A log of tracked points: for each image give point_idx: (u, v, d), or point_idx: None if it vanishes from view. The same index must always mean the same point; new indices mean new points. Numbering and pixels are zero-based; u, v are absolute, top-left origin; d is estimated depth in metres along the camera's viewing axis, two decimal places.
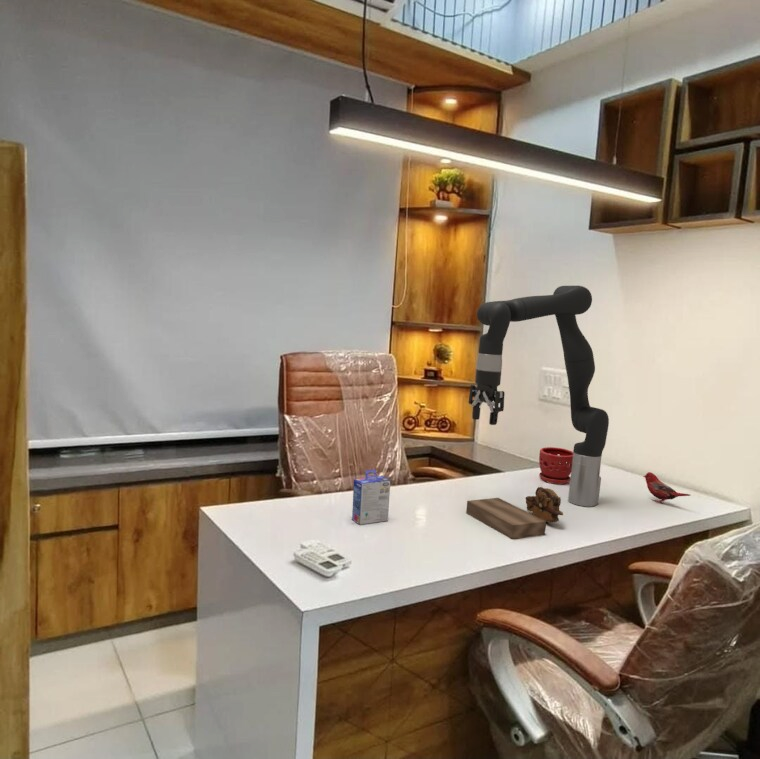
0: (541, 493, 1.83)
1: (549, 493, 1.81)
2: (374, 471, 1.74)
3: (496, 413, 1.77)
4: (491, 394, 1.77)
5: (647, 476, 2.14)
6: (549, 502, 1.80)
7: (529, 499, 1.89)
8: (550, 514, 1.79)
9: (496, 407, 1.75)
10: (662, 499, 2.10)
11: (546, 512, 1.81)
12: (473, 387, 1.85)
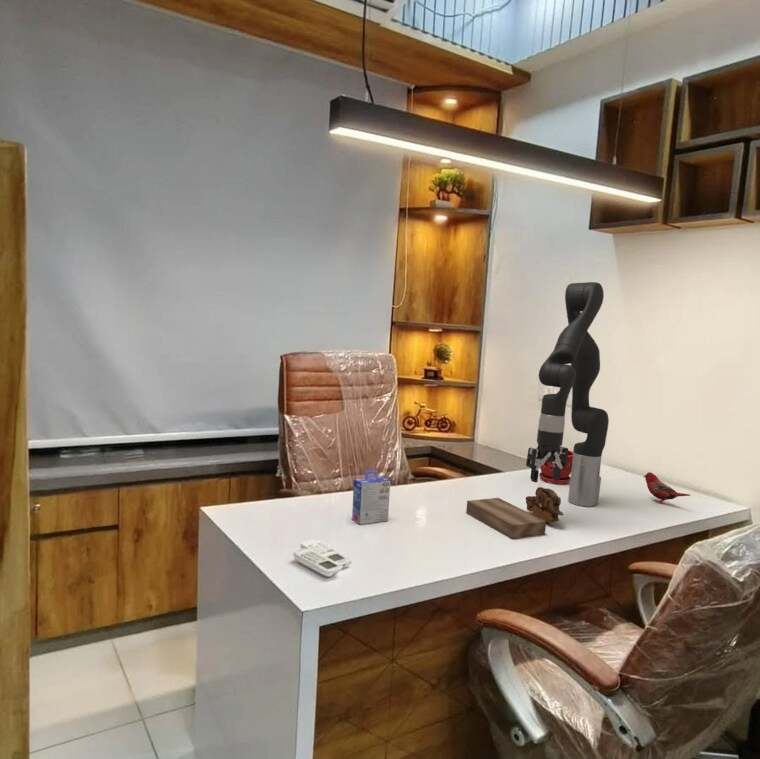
0: (541, 493, 1.83)
1: (549, 493, 1.81)
2: (374, 471, 1.74)
3: None
4: (559, 452, 1.83)
5: (647, 476, 2.14)
6: (549, 502, 1.80)
7: (529, 499, 1.89)
8: (550, 514, 1.79)
9: (566, 463, 1.85)
10: (662, 499, 2.10)
11: (546, 512, 1.81)
12: None
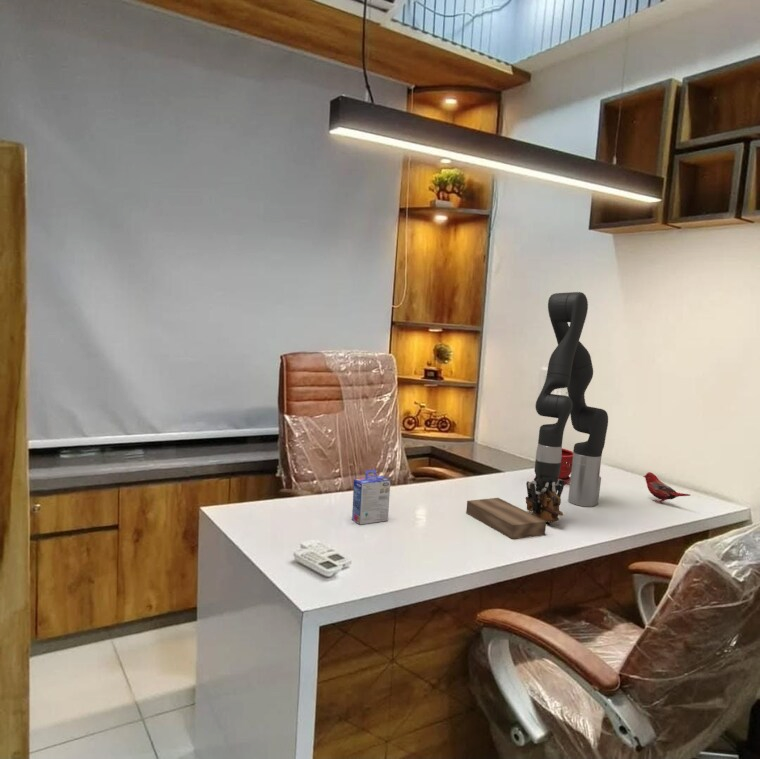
0: None
1: (549, 493, 1.81)
2: (374, 471, 1.74)
3: None
4: (556, 482, 1.84)
5: (647, 476, 2.14)
6: (549, 502, 1.80)
7: (529, 499, 1.89)
8: (550, 514, 1.79)
9: (559, 495, 1.85)
10: (662, 499, 2.10)
11: (546, 512, 1.81)
12: None
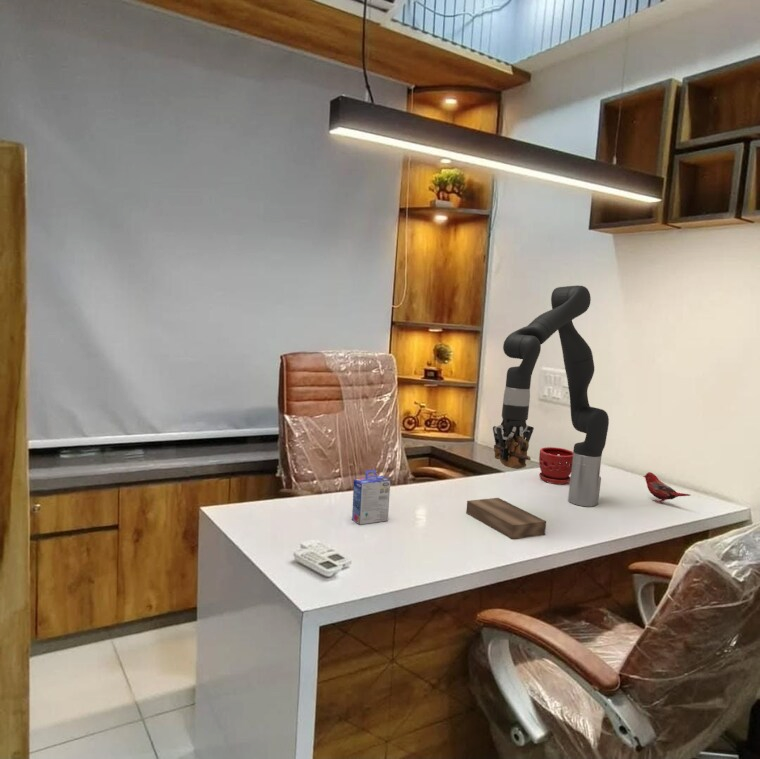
0: None
1: (517, 437, 1.74)
2: (374, 471, 1.74)
3: None
4: (524, 428, 1.76)
5: (647, 476, 2.14)
6: (517, 447, 1.73)
7: (497, 447, 1.82)
8: (517, 459, 1.71)
9: None
10: (662, 499, 2.10)
11: (513, 457, 1.73)
12: None
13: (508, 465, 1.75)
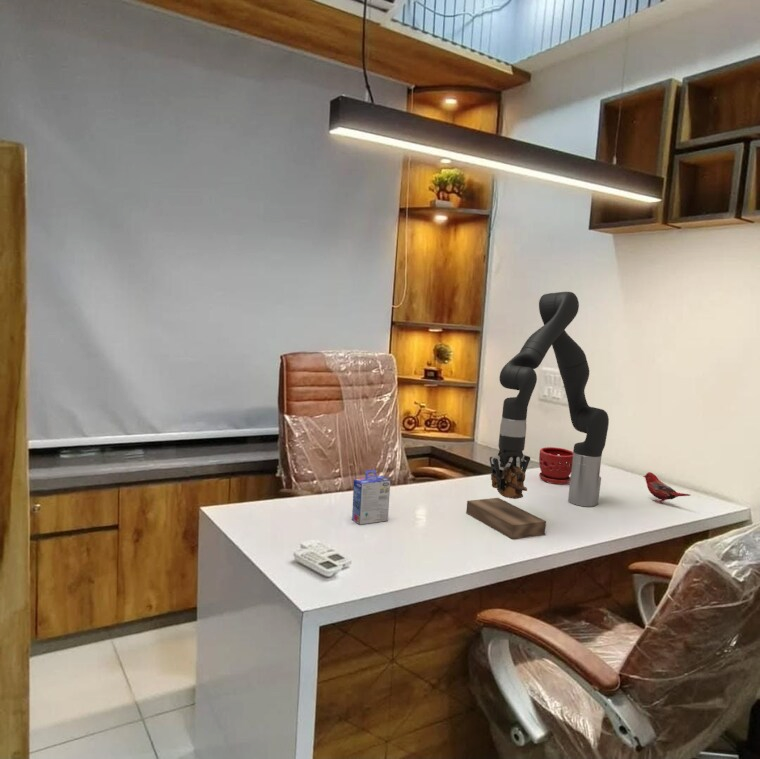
0: None
1: (513, 468, 1.75)
2: (374, 471, 1.74)
3: None
4: (521, 458, 1.78)
5: (647, 476, 2.14)
6: (513, 477, 1.74)
7: (494, 476, 1.83)
8: (514, 490, 1.73)
9: (524, 471, 1.79)
10: (662, 499, 2.10)
11: (510, 488, 1.74)
12: None
13: (505, 495, 1.76)
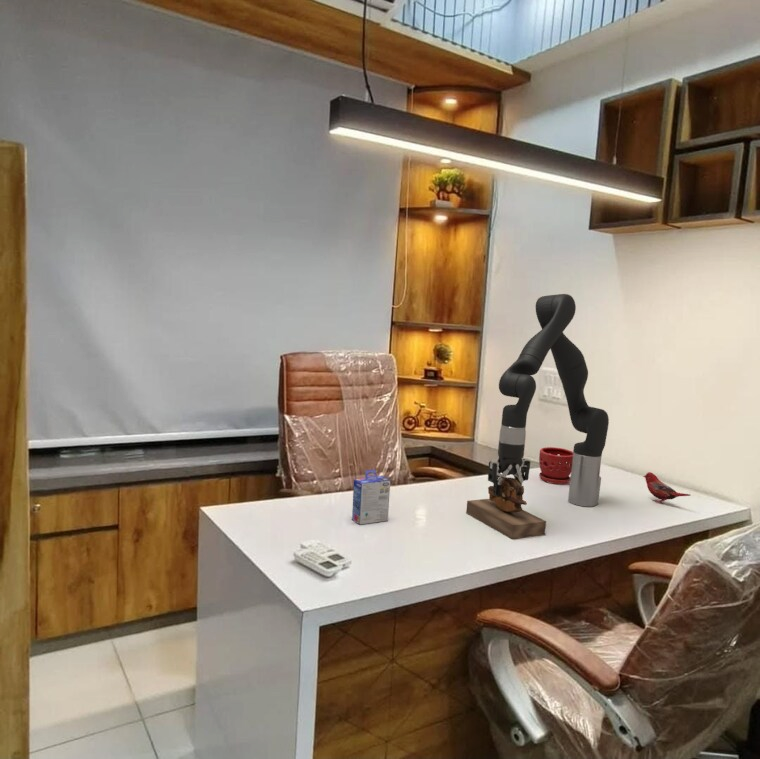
0: (504, 482, 1.77)
1: (512, 482, 1.75)
2: (374, 471, 1.74)
3: None
4: (521, 464, 1.78)
5: (647, 476, 2.14)
6: (512, 491, 1.74)
7: (491, 489, 1.83)
8: (513, 504, 1.73)
9: (527, 476, 1.79)
10: (662, 499, 2.10)
11: (509, 502, 1.75)
12: None
13: (504, 509, 1.76)
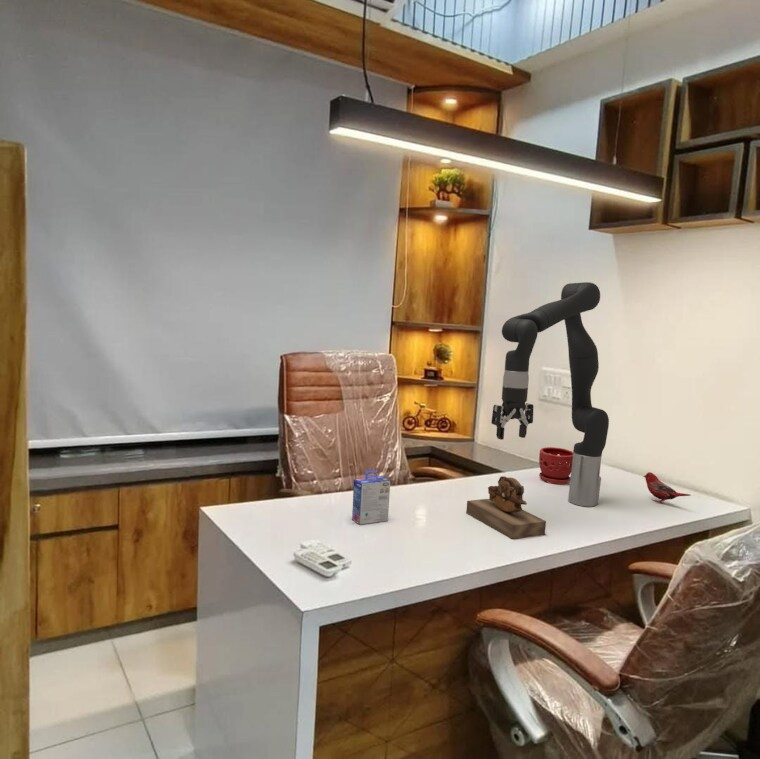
0: (504, 482, 1.77)
1: (512, 482, 1.75)
2: (374, 471, 1.74)
3: None
4: (524, 409, 1.82)
5: (647, 476, 2.14)
6: (512, 491, 1.74)
7: (491, 489, 1.83)
8: (513, 504, 1.73)
9: (532, 419, 1.84)
10: (662, 499, 2.10)
11: (509, 502, 1.75)
12: None
13: (504, 509, 1.76)
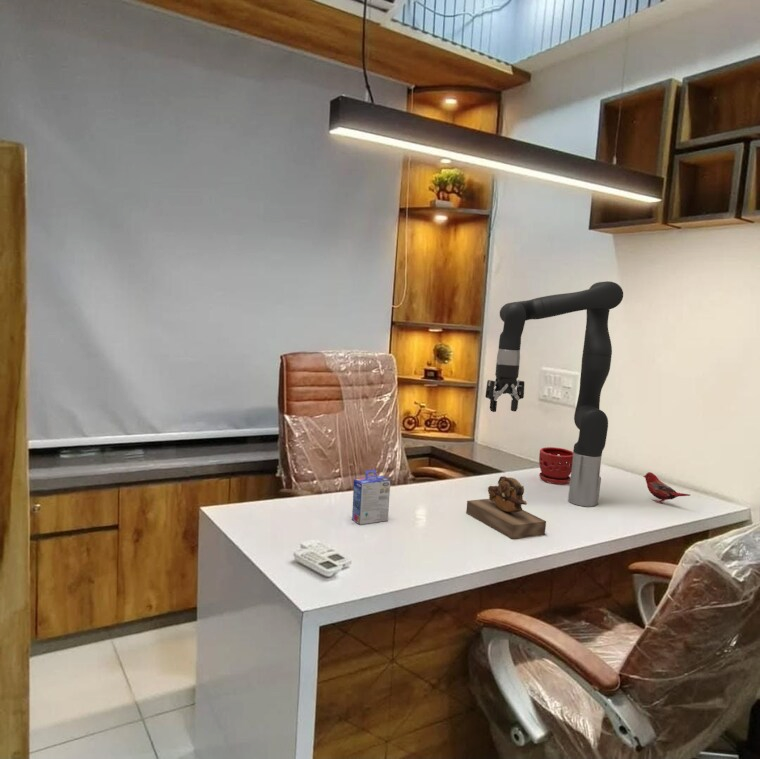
0: (504, 482, 1.77)
1: (512, 482, 1.75)
2: (374, 471, 1.74)
3: None
4: (516, 385, 2.00)
5: (647, 476, 2.14)
6: (512, 491, 1.74)
7: (491, 489, 1.83)
8: (513, 504, 1.73)
9: (522, 395, 2.02)
10: (662, 499, 2.10)
11: (509, 502, 1.75)
12: None
13: (504, 509, 1.76)
